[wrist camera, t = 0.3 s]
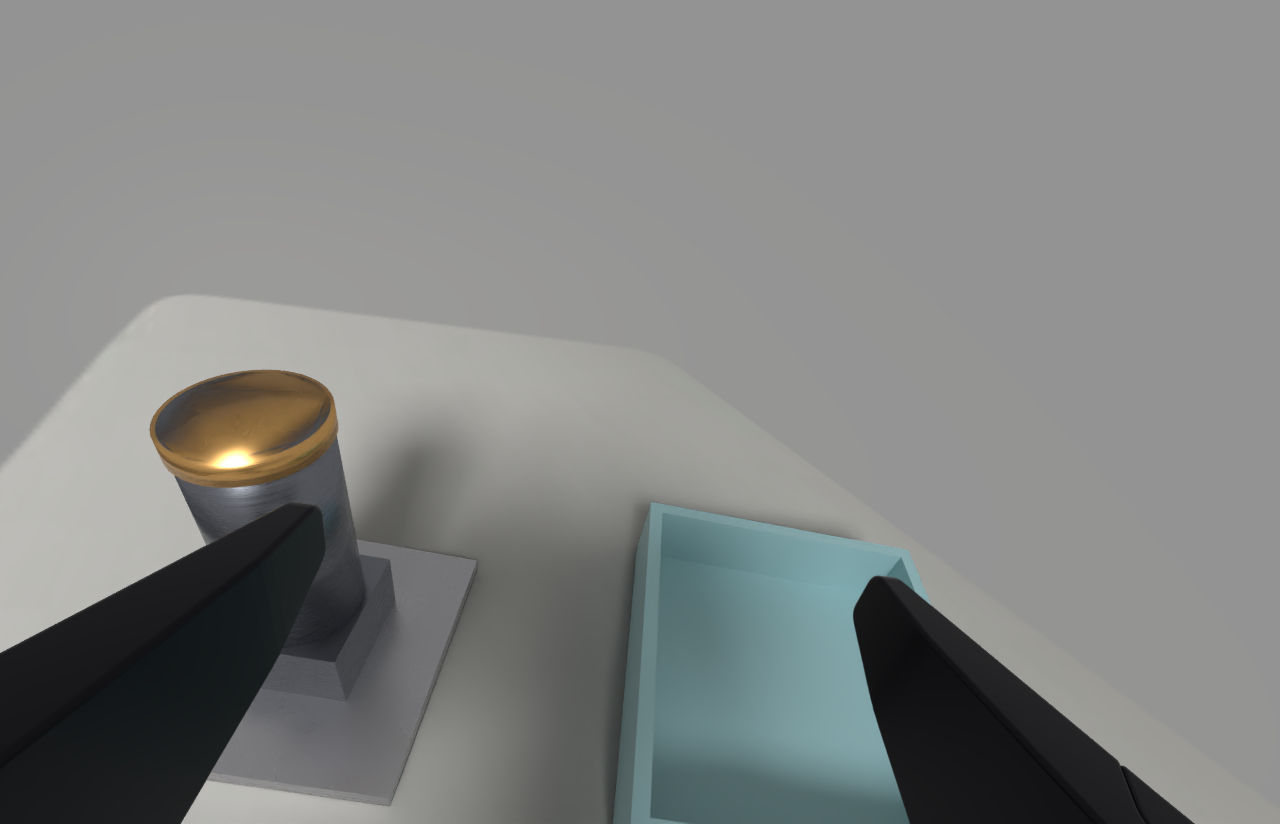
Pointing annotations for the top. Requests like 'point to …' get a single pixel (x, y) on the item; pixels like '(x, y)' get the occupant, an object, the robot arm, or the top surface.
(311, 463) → the grey gold-rimmed cylinder
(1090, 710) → the top surface
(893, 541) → the top surface
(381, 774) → the stud plate
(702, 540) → the tray
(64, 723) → the robot arm
